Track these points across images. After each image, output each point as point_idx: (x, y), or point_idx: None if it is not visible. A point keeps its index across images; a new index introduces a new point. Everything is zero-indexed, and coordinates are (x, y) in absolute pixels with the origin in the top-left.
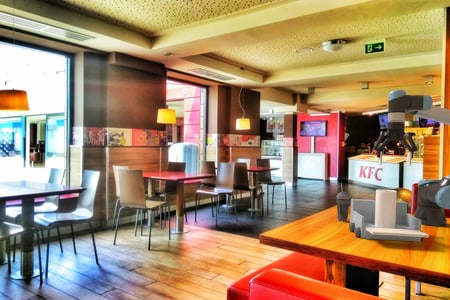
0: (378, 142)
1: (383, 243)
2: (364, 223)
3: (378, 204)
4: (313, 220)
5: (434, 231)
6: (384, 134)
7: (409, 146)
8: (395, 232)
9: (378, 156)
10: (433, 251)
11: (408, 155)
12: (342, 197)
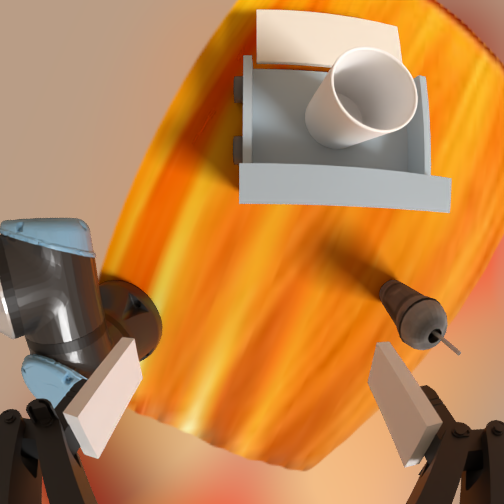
0: None
1: None
2: (386, 151)
3: (387, 91)
4: (462, 273)
5: (147, 212)
6: None
7: (51, 472)
8: (341, 21)
9: (428, 393)
10: (255, 10)
11: (103, 418)
12: (437, 304)
